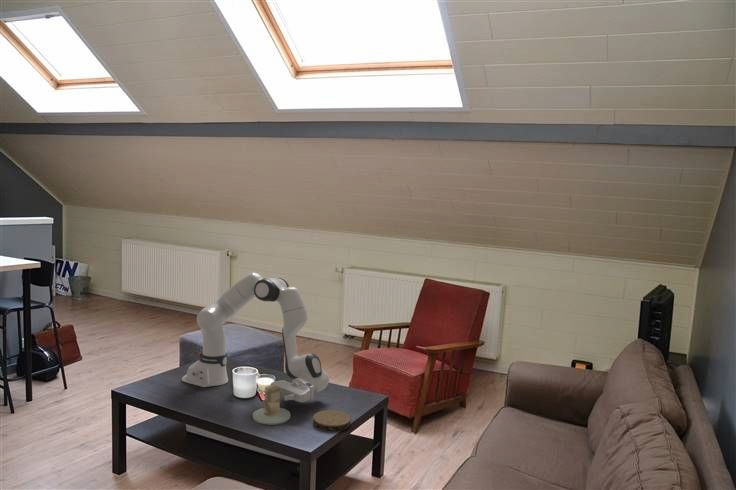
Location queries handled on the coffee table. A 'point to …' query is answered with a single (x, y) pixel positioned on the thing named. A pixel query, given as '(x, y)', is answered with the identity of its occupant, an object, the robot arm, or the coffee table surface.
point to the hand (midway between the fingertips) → (276, 395)
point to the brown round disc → (331, 420)
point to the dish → (264, 419)
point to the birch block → (272, 401)
